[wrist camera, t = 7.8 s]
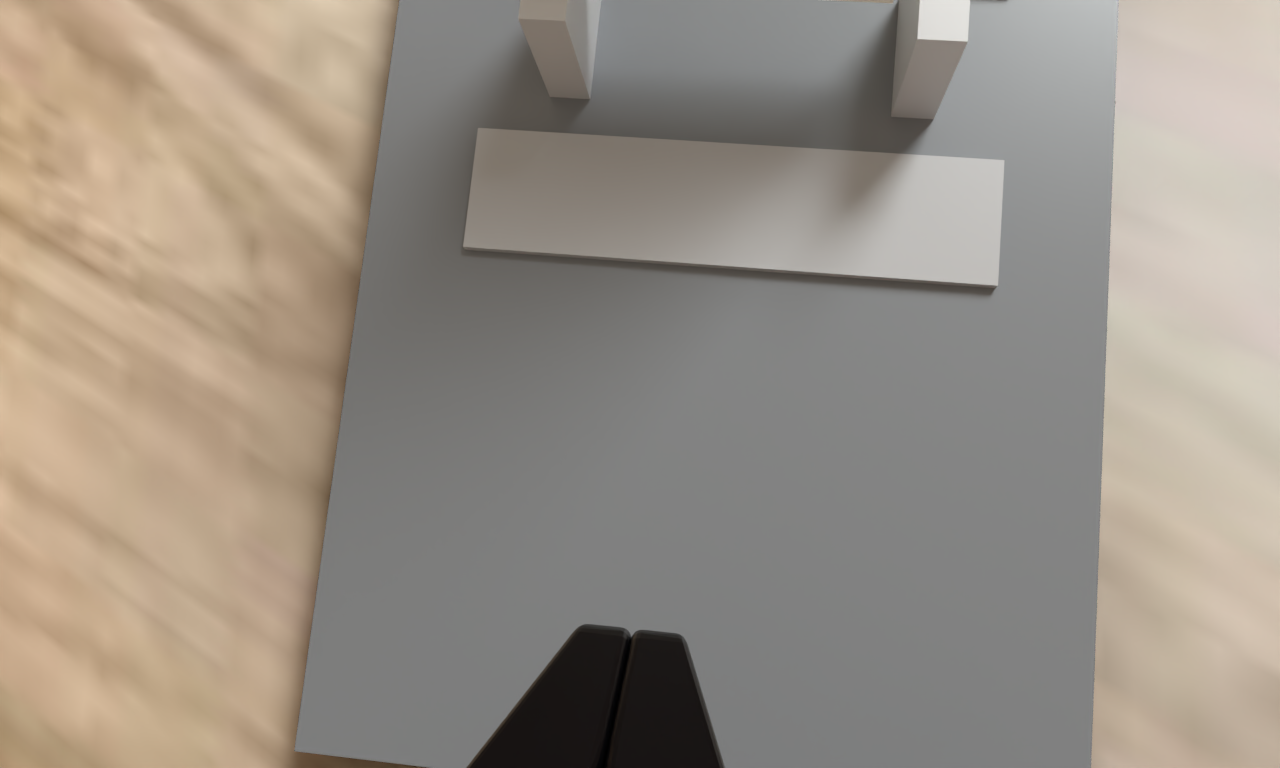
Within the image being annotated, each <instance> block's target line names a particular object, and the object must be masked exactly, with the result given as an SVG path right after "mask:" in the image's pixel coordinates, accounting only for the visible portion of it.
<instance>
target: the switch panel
mask: <svg viewBox="0 0 1280 768" xmlns="http://www.w3.org/2000/svg"><path fill="white" fill-rule="evenodd" d="M1118 4H1119V0H893V3H875V2H854V1H833V0H399V7H398V14H397V21H396V28H395V35H394V42H393V49H392V57H391V64H390V71H389V78H388V85H387V92H386V99H385V107H384V114H383V121H382V128H381V135H380V142H379V149H378V157H377V164H376V171H375V178H374V185H373V192H372V199H371V207H370V214H369V221H368V228H367V235H366V242H365V250H364V257H363V264H362V271H361V278H360V285H359V292H358V300H357V307H356V314H355V321H354V328H353V335H352V342H351V350H350V357H349V364H348V371H347V378H346V385H345V392H344V400H343V407H342V414H341V421H340V428H339V435H338V442H337V450H336V457H335V464H334V471H333V478H332V485H331V492H330V500H329V507H328V514H327V521H326V528H325V535H324V542H323V550H322V557H321V564H320V571H319V578H318V585H317V592H316V600H315V607H314V614H313V621H312V628H311V635H310V642H309V650H308V657H307V664H306V671H305V678H304V685H303V693H302V700H301V707H300V714H299V721H298V728H297V735H296V743H295V750H294V751H297V752H305V753H313V754H322V755H330V756H338V757H346V758H354V759H363V760H371V761H379V762H387V763H396V764H404V765H412V766H420V767H428V768H466V767H467V766H468V765H469V763H470V762H471V761H472V759H473V758H474V757H475V756H476V754H477V753H478V752H479V751H480V749H481V748H482V747H483V746H484V744H485V743H486V742H487V740H488V739H489V738H490V737H491V735H492V734H493V733H494V732H495V730H496V729H497V728H498V726H499V725H500V724H501V723H502V721H503V720H504V719H505V718H506V716H507V715H508V714H509V713H510V711H511V710H512V709H513V707H514V706H515V705H516V704H517V702H518V701H519V700H520V699H521V697H522V696H523V695H524V694H525V692H526V691H527V690H528V688H529V687H530V686H531V685H532V683H533V682H534V681H535V680H536V678H537V677H538V676H539V675H540V673H541V672H542V671H543V669H544V668H545V667H546V666H547V664H548V663H549V662H550V661H551V659H552V658H553V657H554V655H555V654H556V653H557V652H558V650H559V649H560V648H561V647H562V645H563V644H564V643H565V642H566V640H567V639H568V638H569V636H570V635H571V634H572V633H573V632H574V631H575V630H576V629H577V628H578V627H579V626H581V625H583V624H595V625H604V626H614V627H623V628H625V629H627V630H628V631H629V632H630V634H631V637H632V635H633V634H634V633H635V632H636V631H638V630H652V631H661V632H671V633H678V634H680V635H682V636H683V637H684V638H685V640H686V642H687V644H688V647H689V650H690V654H691V657H692V660H693V664H694V667H695V670H696V673H697V677H698V680H699V683H700V687H701V690H702V693H703V697H704V700H705V703H706V707H707V710H708V713H709V716H710V720H711V723H712V726H713V730H714V733H715V736H716V740H717V743H718V746H719V749H720V753H721V756H722V759H723V763H724V766H725V768H1091V751H1092V724H1093V696H1094V668H1095V641H1096V613H1097V585H1098V558H1099V530H1100V502H1101V475H1102V447H1103V419H1104V392H1105V364H1106V336H1107V309H1108V281H1109V253H1110V226H1111V198H1112V170H1113V142H1114V115H1115V87H1116V59H1117V32H1118Z"/></svg>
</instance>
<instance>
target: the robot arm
mask: <svg viewBox="0 0 1280 768" xmlns="http://www.w3.org/2000/svg"><path fill="white" fill-rule="evenodd" d="M466 768H725V766H724V763H723V759H722V756H721V753H720V749H719V746H718V743H717V740H716V736H715V733H714V730H713V726H712V723H711V720H710V716H709V713H708V710H707V707H706V703H705V700H704V697H703V693H702V690H701V687H700V683H699V680H698V677H697V673H696V670H695V667H694V664H693V660H692V657H691V654H690V650H689V647H688V644H687V642H686V640H685V638H684V637H683V636H682V635H680V634H678V633H671V632H661V631H652V630H638V631H636V632H635V633H634V634H633V635H632V637H631V634H630V632H629V631H628V630H627V629H625V628H623V627H614V626H604V625H595V624H583V625H581V626H579V627H578V628H577V629H576V630H575V631H574V632H573V633H572V634H571V635H570V636H569V638H568V639H567V640H566V642H565V643H564V644H563V645H562V647H561V648H560V649H559V650H558V652H557V653H556V654H555V655H554V657H553V658H552V659H551V661H550V662H549V663H548V664H547V666H546V667H545V668H544V669H543V671H542V672H541V673H540V675H539V676H538V677H537V678H536V680H535V681H534V682H533V683H532V685H531V686H530V687H529V688H528V690H527V691H526V692H525V694H524V695H523V696H522V697H521V699H520V700H519V701H518V702H517V704H516V705H515V706H514V707H513V709H512V710H511V711H510V713H509V714H508V715H507V716H506V718H505V719H504V720H503V721H502V723H501V724H500V725H499V726H498V728H497V729H496V730H495V732H494V733H493V734H492V735H491V737H490V738H489V739H488V740H487V742H486V743H485V744H484V746H483V747H482V748H481V749H480V751H479V752H478V753H477V754H476V756H475V757H474V758H473V759H472V761H471V762H470V763H469V765H468V766H467V767H466Z"/></svg>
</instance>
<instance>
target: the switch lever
mask: <svg viewBox="0 0 1280 768" xmlns="http://www.w3.org/2000/svg"><path fill="white" fill-rule="evenodd" d="M833 1H854V2H875V3H893V0H833Z"/></svg>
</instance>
